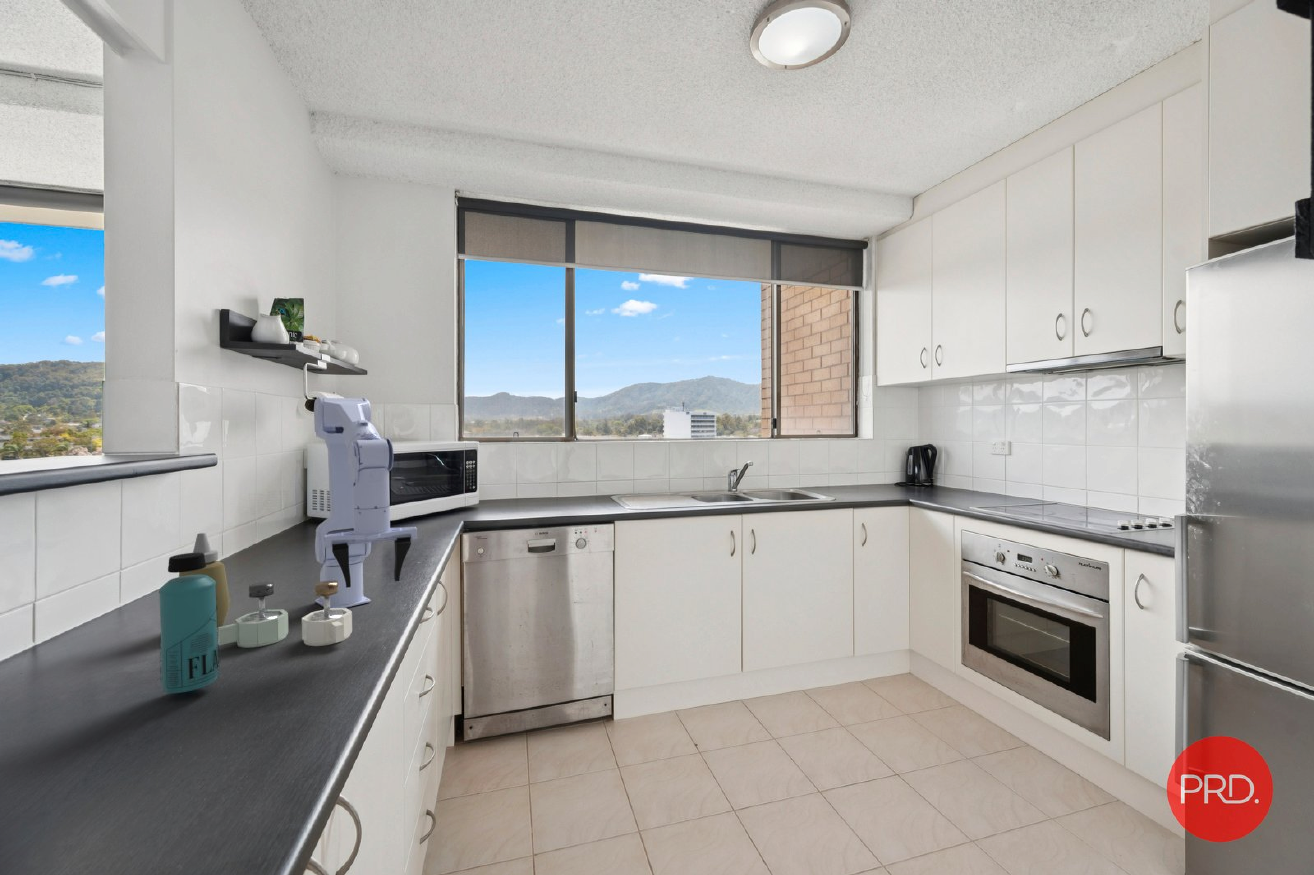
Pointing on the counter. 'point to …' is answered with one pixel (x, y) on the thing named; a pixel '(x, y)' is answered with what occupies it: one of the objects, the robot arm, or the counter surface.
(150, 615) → the counter surface
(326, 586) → the cream press plunger
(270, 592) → the sage press plunger
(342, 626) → the cream press pot
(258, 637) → the sage press pot
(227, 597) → the squeeze bottle
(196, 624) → the beverage bottle
